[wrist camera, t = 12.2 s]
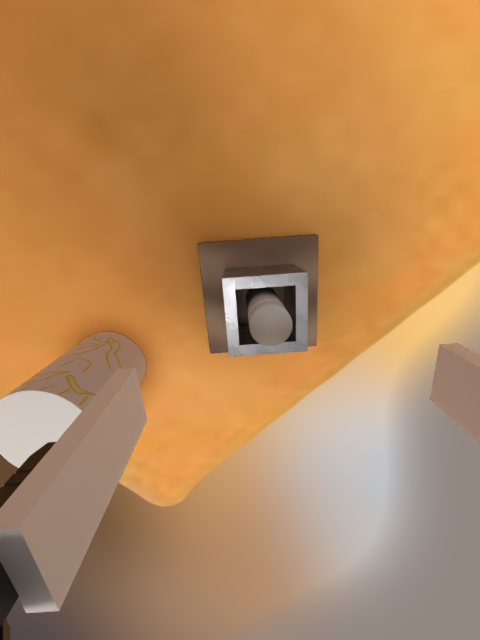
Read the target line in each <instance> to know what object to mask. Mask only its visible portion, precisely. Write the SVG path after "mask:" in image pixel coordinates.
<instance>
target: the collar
mask: <svg viewBox="0 0 480 640" xmlns="http://www.w3.org/2000/svg"><path fill="white" fill-rule="evenodd" d="M222 284H223V295H224V306H225V318H226V329H227V340H228V351H229V356H242V355H257V354H271V353H286V352H301V351H307V336H308V272H307V271H305V270H303V269H302V268H300V267H298V266H296V265H295V264H283V265H269V266H255V267H240V268H226V269H225V270H224V273H223V277H222ZM279 286H284V307H285V309H286V310H287V312H288V313H289V315H290V317H291V319H292V324H293V327H292V331H291V334H290V336H289V337H288V338H287V340H285V341H284V342H283V343H281V344H279V345H276V346H265V345H262V344H260V343H258V342H257V341H256V340H255V339H254V338H253V337H252V335H251V332H250V327H249V323H239V320H238V307H237V293H236V289H251V288H265V287H279Z"/></svg>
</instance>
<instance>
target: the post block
mask: <svg viewBox="0 0 480 640" xmlns="http://www.w3.org/2000/svg"><path fill="white" fill-rule="evenodd" d="M198 252H199V261H200V270H201V278H202V287H203V295H204V304H205V313H206V321H207V330H208V338H209V347H210V353H223V352H229V351H228V340H227V329H226V318H225V306H224V295H223V284H222V277H223V273H224V270H225V269H226V268H240V267H255V266H269V265H283V264H295V265H296V266H298V267H300V268H302V269H303V270H305V271H307V272H308V336H307V347H308V346H316V331H317V278H318V235H301V236H288V237H275V238H261V239H248V240H234V241H221V242H208V243H198ZM236 293H237V307H238V320H239V323H249V327H250V332H251V335H252V337H253V338H254V339H255V340H256V341H257V342H258V343H260V344H262V345H265V346H276V345H279V344H281V343H283V342H284V341H285V340H287V338H288V337H289V336H290V334H291V331H292V327H293V324H292V319H291V317H290V315H289V313H288V312H287V310H286V309H285V307H284V286H279V287H265V288H251V289H236Z"/></svg>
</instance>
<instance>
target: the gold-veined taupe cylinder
mask: <svg viewBox="0 0 480 640" xmlns="http://www.w3.org/2000/svg"><path fill="white" fill-rule="evenodd" d="M133 367H136V372H137V376H138V381H139V385H140V383H141V382H142V380H143V378H144V376H145V373H146V361H145V357H144V355H143V353H142V351H141V349H140V348H139V347H138V346H137V345H136V344H135V343H134V342H133V341H132V340H131V339H129V338H127V337H126V336H124V335H121V334H118V333H114V332H99V333H96V334H93V335H91V336H89V337H87V338H86V339H85V340H83V341H82V342H80V343H79V344H78V345H76V346H75V347H73V348H72V349H71V350H69V351H68V352H67V353H65V354H64V355H62V356H61V357H60V358H58V359H57V360H55V361H54V362H53V363H51V364H50V365H48V366H47V367H46V368H44V369H43V370H41V371H40V372H39V373H37V374H36V375H34V376H33V377H32V378H30V379H29V380H27V381H26V382H25V383H23V384H22V385H20V386H19V387H18V388H16V389H15V390H13V391H12V392H11V393H9V394H8V395H6V396H5V397H4V398H2V399H1V400H0V454H1V455H2V456H3V457H4V458H5V459H6V460H7V461H9V462H10V463H11V464H13V465H14V466H16V467H18V468H19V467H20V466H21V465H22V464H23V463H24V462H25V461H26V460H27V459H28V457H29V456H30V455H32V454H33V453H34V452H36V451H37V450H38V449H40V448H41V447H42V446H44V445H45V444H47V443H48V442H57V440H58V439H59V438H60V437H61V436H62V434H63V433H64V432H65V431H66V430H67V429H68V427H69V426H70V425H71V424H72V423H73V421H74V420H75V419H76V418H77V417H78V415H79V414H80V413H81V412H82V411H83V410H84V408H85V407H86V406H87V405H88V404H89V402H90V401H91V400H92V399H93V398H94V396H95V395H96V394H97V393H98V392H99V391H100V389H101V388H102V387H103V386H104V385H105V383H106V382H107V381H108V380H109V379H110V377H111V376H112V375H113V374H114V373H115V372H116V370H117V369H120V368H133Z"/></svg>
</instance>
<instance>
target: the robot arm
mask: <svg viewBox="0 0 480 640" xmlns="http://www.w3.org/2000/svg"><path fill="white" fill-rule="evenodd" d="M430 400H431V401H432V402H434V403H435V404H436V405H437V406H438V407H439V408H440V409H442V410H443V411H444V412H445V413H446V414H447V415H448V416H450V417H451V418H452V419H453V420H454V421H455V422H456V423H458V424H459V425H460V426H461V427H462V428H463V429H464V430H466V431H467V432H468V433H469V434H470V435H471V436H472V437H474V438H475V439H476V440H477V441H478V442H479V443H480V355H479V354H477V353H475V352H473V351H471V350H469V349H467V348H465V347H464V346H462V345H460V344H458V343H456V344H441V345H439V350H438V356H437V362H436V368H435V373H434V379H433V384H432V391H431V395H430ZM146 421H147V417H146V412H145V408H144V403H143V399H142V394H141V390H140V385H139V381H138V376H137V372H136V367H133V368H120V369H117V370H116V372H115V373H114V374H113V375H112V376H111V377H110V379H109V380H108V381H107V382H106V383H105V385H104V386H103V387H102V388H101V389H100V391H99V392H98V393H97V394H96V395H95V396H94V398H93V399H92V400H91V401H90V402H89V404H88V405H87V406H86V407H85V408H84V410H83V411H82V412H81V413H80V414H79V415H78V417H77V418H76V419H75V420H74V421H73V423H72V424H71V425H70V426H69V427H68V429H67V430H66V431H65V432H64V433H63V434H62V436H61V437H60V438H59V439H58V440H57V442H48V443H47V444H45V445H44V446H42V447H41V448H40V449H38V450H37V451H36V452H34V453H33V454H32V455H30V456H29V457H28V459H27V460H26V461H25V462H24V463H23V464H22V465H21V466H20V467H19V469H18V470H17V472H16V474H13V475H12V476H11V477H10V478H9V480H8V481H7V482H6V483H5V486H4V487H1V489H0V640H10V626H9V623H8V620H7V618H6V617H7V615H8V614H9V612H10V610H11V608H12V607H13V605H14V603H15V602H16V600H17V598H18V599H19V600H20V602H21V604H22V606H23V608H24V610H25V611H26V613H33V612H48V611H59V610H60V607H61V605H62V603H63V601H64V599H65V597H66V594H67V592H68V590H69V588H70V586H71V584H72V582H73V579H74V577H75V575H76V573H77V571H78V569H79V566H80V564H81V562H82V559H83V558H84V556H85V553H86V551H87V549H88V547H89V544H90V543H91V540H92V538H93V536H94V534H95V532H96V529H97V527H98V525H99V523H100V521H101V519H102V517H103V515H104V512H105V510H106V508H107V506H108V504H109V502H110V499H111V497H112V495H113V493H114V491H115V489H116V486H117V484H118V482H119V480H120V478H121V476H122V473H123V471H124V469H125V467H126V465H127V463H128V460H129V458H130V456H131V454H132V452H133V450H134V447H135V445H136V443H137V441H138V439H139V437H140V434H141V432H142V430H143V428H144V426H145V424H146Z"/></svg>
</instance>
